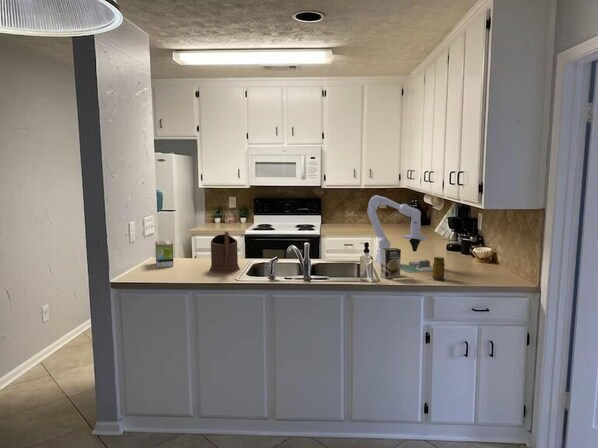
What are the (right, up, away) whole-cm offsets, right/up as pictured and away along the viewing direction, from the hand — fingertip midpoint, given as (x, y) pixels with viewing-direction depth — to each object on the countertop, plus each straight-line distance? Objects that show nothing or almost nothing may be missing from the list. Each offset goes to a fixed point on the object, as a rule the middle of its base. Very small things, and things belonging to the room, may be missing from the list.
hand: (414, 251), depth 267 cm
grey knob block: (+1, -10, 0) cm, 10 cm away
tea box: (-156, -10, +11) cm, 157 cm away
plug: (+3, -10, -9) cm, 14 cm away
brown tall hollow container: (-115, -12, -5) cm, 115 cm away
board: (-2, -11, -7) cm, 13 cm away
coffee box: (-20, -13, -23) cm, 33 cm away
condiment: (+6, -14, -28) cm, 32 cm away
